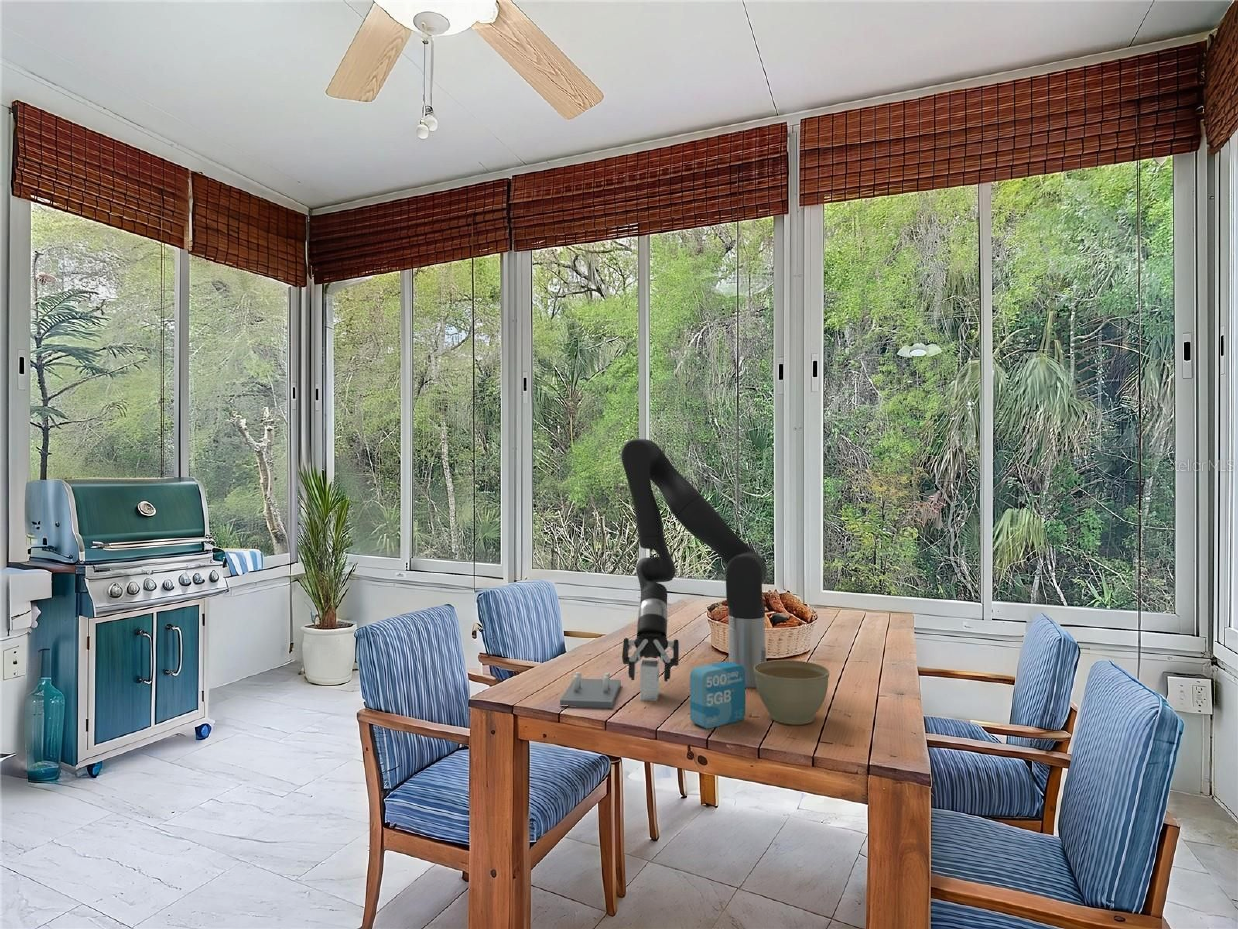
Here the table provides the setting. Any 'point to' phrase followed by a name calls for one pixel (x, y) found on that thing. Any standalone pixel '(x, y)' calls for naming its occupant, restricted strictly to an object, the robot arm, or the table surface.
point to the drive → (649, 680)
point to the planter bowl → (791, 689)
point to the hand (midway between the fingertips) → (649, 679)
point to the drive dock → (591, 692)
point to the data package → (717, 694)
